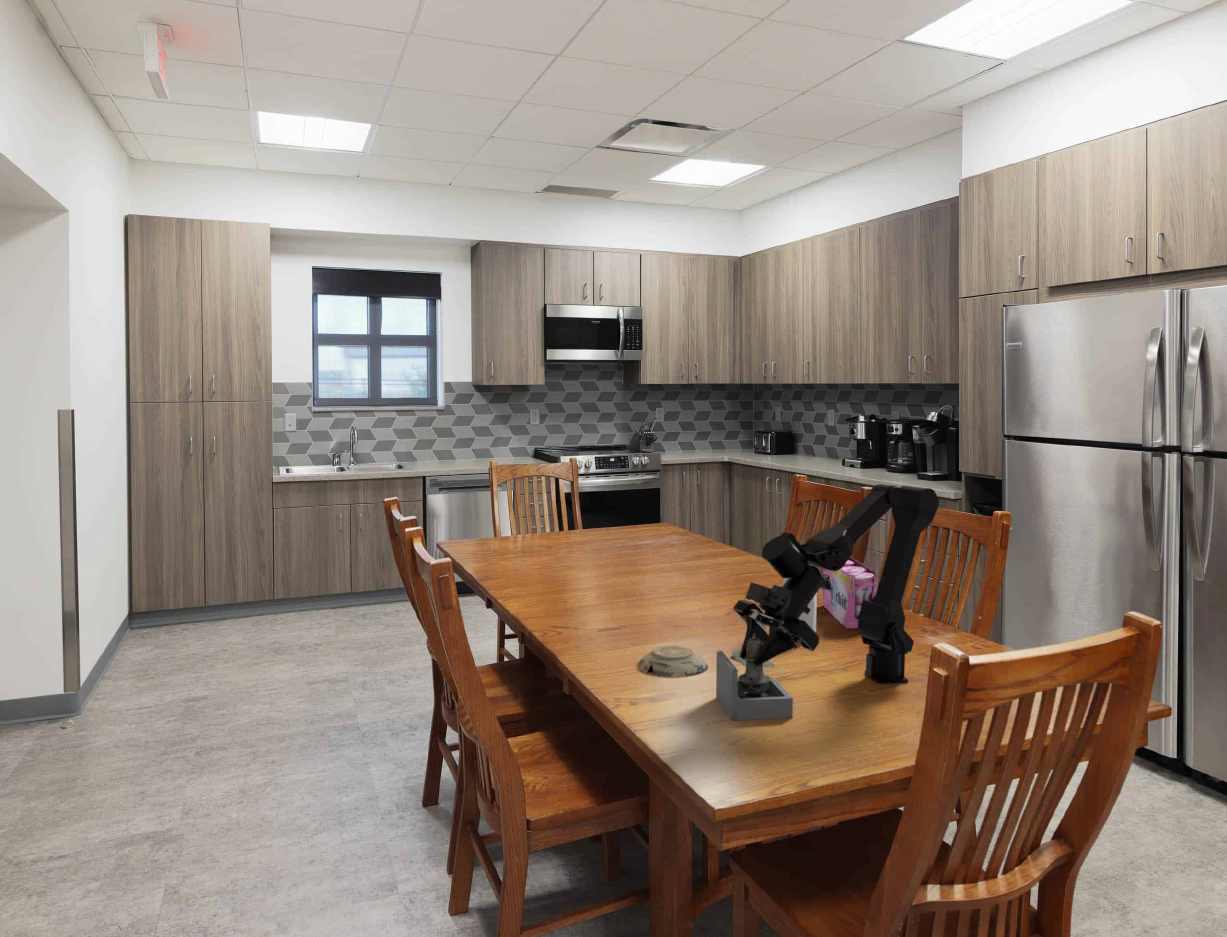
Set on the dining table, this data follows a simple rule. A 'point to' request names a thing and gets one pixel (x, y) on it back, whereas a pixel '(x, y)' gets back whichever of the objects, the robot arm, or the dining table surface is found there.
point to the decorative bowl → (673, 662)
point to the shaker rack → (749, 708)
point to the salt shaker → (753, 672)
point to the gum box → (849, 591)
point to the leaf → (737, 657)
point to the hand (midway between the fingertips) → (748, 661)
